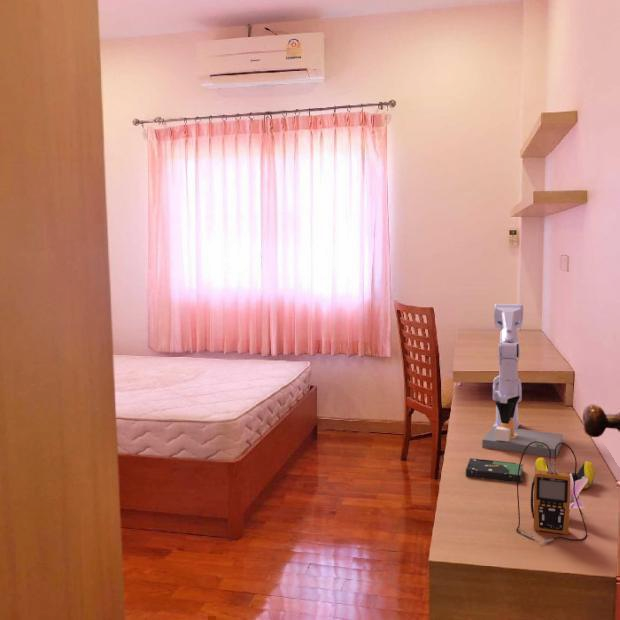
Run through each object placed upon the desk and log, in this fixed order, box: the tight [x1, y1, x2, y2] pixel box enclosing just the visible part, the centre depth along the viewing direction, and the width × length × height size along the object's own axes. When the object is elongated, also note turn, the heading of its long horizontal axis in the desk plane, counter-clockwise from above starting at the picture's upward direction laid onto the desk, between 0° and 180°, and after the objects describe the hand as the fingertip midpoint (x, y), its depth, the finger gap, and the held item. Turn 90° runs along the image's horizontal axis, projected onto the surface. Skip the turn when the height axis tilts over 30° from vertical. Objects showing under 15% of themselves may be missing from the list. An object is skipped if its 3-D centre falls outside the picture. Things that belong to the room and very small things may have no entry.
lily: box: [569, 472, 588, 515], centre depth 143 cm, size 12×12×10 cm
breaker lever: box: [495, 427, 510, 442], centre depth 193 cm, size 3×4×4 cm
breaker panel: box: [481, 426, 564, 458], centre depth 198 cm, size 18×22×4 cm
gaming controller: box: [534, 457, 596, 490], centre depth 164 cm, size 15×6×10 cm
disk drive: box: [465, 457, 524, 484], centre depth 171 cm, size 10×3×15 cm
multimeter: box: [515, 441, 588, 545], centre depth 131 cm, size 15×10×20 cm
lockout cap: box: [501, 418, 514, 437], centre depth 199 cm, size 4×4×6 cm
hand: (507, 420), depth 199 cm, fingers open, 7 cm apart
